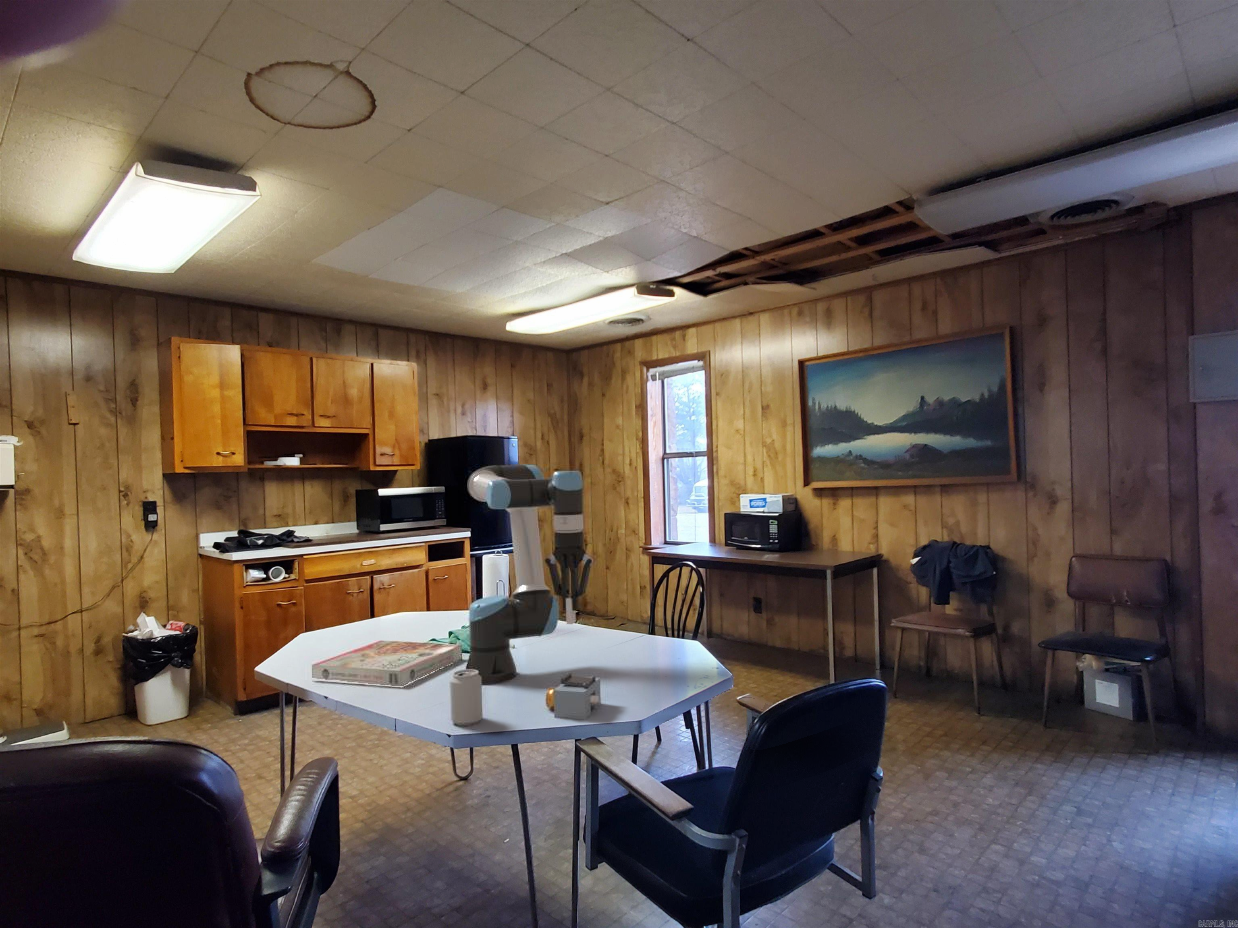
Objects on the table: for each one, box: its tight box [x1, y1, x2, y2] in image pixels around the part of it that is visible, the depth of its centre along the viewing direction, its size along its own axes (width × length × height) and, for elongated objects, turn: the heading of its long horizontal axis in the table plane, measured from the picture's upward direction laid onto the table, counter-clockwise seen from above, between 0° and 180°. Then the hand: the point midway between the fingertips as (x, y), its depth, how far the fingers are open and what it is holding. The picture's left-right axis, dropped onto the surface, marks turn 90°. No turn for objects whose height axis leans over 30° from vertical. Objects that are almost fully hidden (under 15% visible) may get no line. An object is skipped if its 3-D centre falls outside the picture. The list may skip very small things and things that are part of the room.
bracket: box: [553, 676, 602, 720], centre depth 175 cm, size 8×12×6 cm, turn 163°
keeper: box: [560, 672, 597, 688], centre depth 175 cm, size 7×7×1 cm
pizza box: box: [311, 640, 463, 686], centre depth 220 cm, size 32×5×32 cm
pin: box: [545, 687, 600, 709], centre depth 176 cm, size 13×5×5 cm, turn 73°
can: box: [449, 668, 483, 726], centre depth 170 cm, size 8×8×12 cm
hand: (571, 622), depth 179 cm, fingers closed
